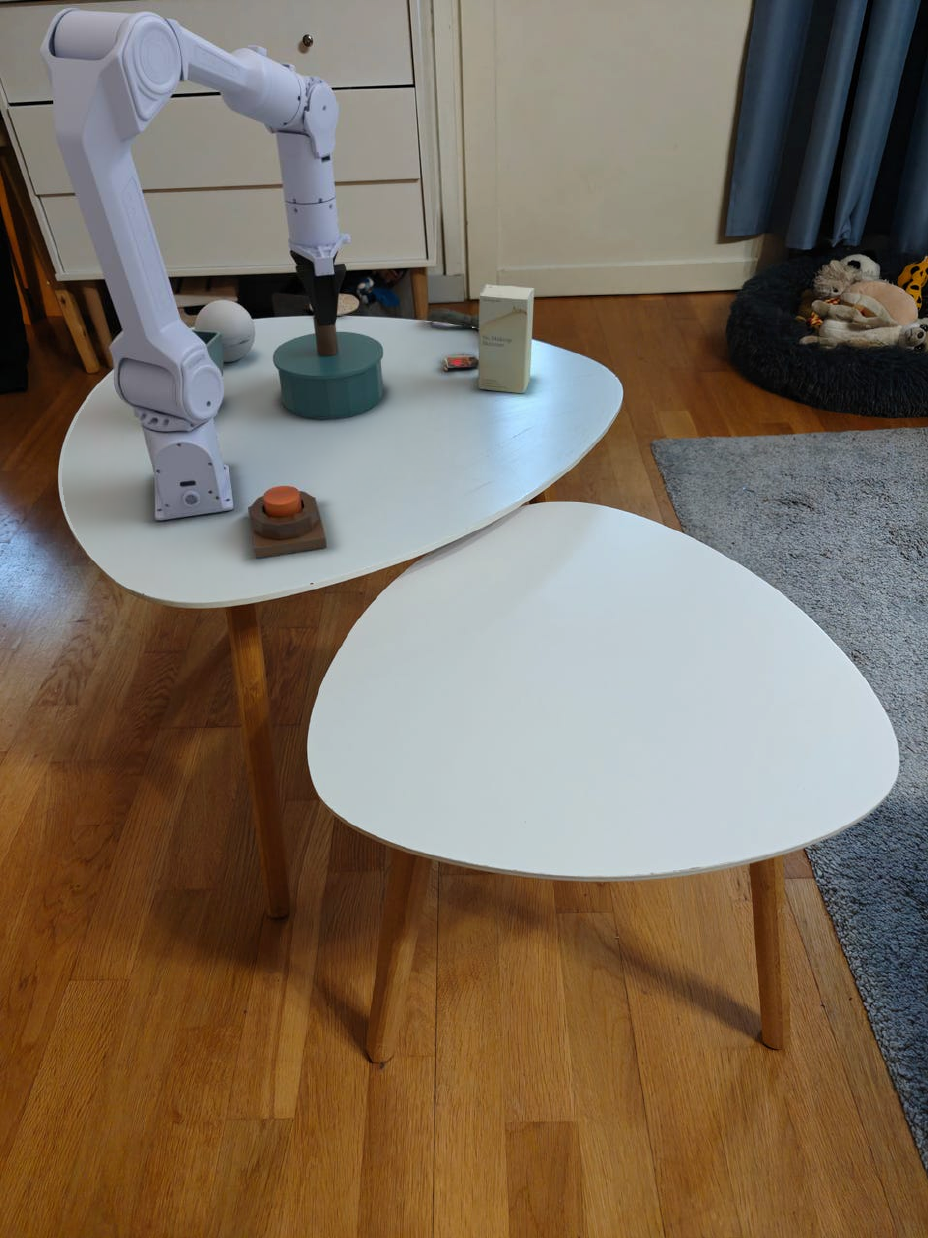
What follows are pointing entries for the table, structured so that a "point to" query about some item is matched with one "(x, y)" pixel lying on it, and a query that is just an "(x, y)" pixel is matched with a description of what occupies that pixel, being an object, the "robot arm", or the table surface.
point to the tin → (332, 394)
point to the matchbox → (461, 361)
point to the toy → (454, 317)
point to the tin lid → (327, 354)
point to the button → (282, 501)
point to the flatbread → (346, 304)
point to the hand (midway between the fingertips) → (323, 316)
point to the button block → (286, 529)
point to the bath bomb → (228, 327)
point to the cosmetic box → (505, 338)
